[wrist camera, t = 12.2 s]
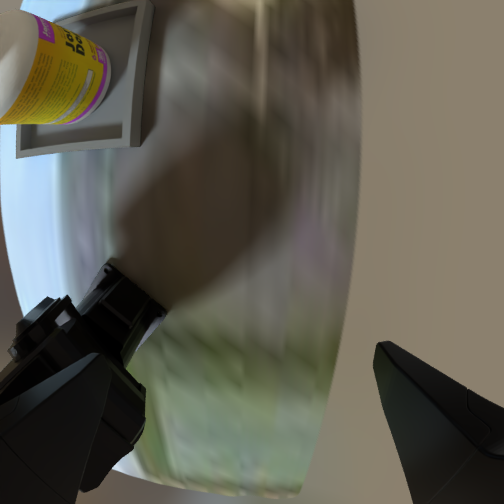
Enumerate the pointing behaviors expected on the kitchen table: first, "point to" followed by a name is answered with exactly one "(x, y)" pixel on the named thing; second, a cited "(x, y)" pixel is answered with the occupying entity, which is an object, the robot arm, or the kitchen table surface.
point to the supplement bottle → (48, 72)
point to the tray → (119, 90)
